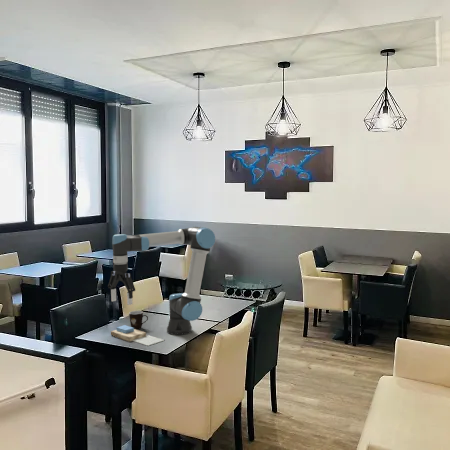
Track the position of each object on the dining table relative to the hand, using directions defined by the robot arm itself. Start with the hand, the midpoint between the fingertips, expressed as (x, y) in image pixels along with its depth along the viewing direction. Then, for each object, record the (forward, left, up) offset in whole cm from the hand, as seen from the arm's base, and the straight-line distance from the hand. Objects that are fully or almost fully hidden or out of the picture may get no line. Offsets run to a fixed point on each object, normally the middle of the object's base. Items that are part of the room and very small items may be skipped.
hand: (121, 302), depth 238 cm
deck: (-16, -16, -25) cm, 34 cm away
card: (-16, -19, -23) cm, 34 cm away
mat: (-18, 0, -25) cm, 31 cm away
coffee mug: (-29, -24, -25) cm, 45 cm away
